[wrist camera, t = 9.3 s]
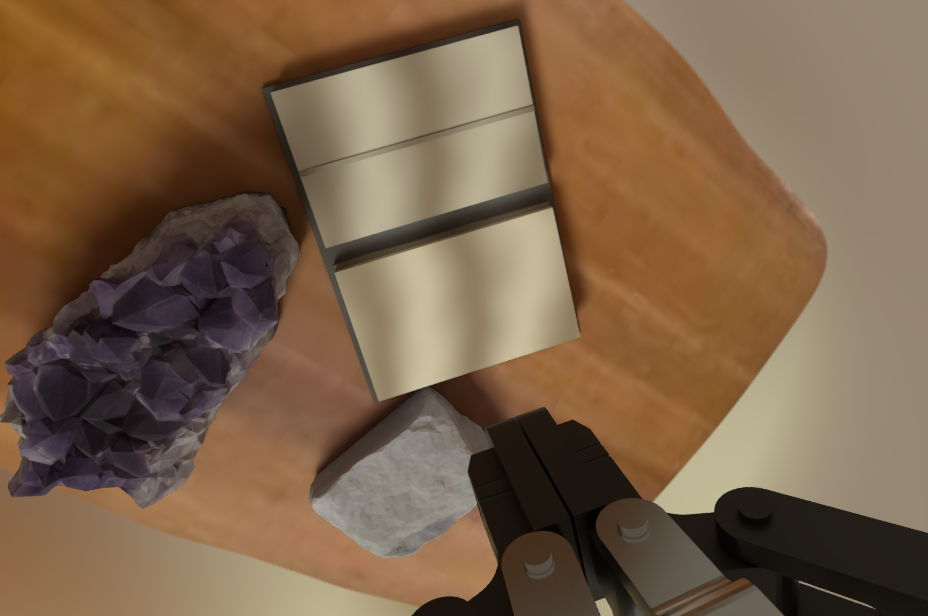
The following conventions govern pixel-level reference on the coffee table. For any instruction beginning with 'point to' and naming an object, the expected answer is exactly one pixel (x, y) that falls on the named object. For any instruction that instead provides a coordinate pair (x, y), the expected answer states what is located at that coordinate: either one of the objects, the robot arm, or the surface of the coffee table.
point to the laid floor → (413, 144)
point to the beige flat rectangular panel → (459, 300)
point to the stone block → (402, 477)
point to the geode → (150, 352)
